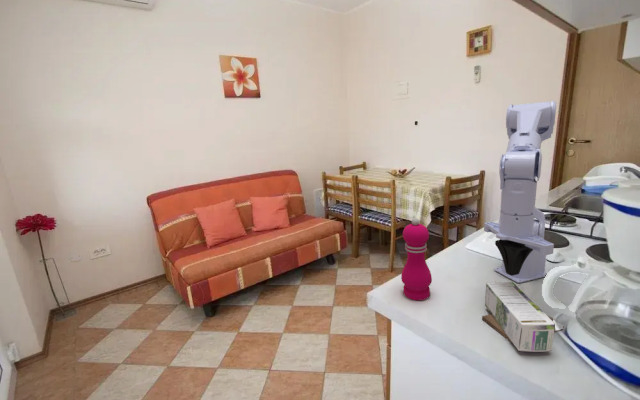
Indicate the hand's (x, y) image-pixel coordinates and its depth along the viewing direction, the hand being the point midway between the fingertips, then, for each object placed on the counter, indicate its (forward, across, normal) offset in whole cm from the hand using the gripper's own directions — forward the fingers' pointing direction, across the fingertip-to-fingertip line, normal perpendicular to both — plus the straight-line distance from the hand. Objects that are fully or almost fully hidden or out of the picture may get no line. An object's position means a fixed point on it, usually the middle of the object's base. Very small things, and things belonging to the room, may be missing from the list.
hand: (512, 273), depth 64 cm
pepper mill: (+10, -14, -14) cm, 22 cm away
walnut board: (+9, +4, -1) cm, 10 cm away
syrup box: (+6, -2, -1) cm, 6 cm away
